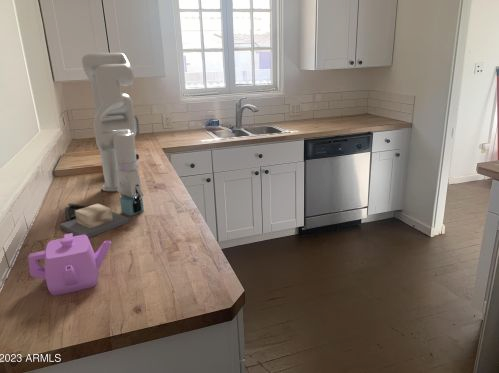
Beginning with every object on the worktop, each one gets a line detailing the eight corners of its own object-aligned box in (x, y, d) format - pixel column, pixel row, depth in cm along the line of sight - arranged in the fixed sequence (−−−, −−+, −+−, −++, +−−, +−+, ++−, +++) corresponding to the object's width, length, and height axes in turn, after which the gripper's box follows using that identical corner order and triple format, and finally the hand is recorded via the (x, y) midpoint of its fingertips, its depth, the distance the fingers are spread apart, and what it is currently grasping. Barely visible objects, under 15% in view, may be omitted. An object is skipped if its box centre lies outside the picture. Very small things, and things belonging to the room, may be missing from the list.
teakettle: (73, 260, 119) (65, 222, 115) (119, 269, 113) (113, 230, 109) (24, 291, 104) (14, 249, 100) (75, 303, 98) (66, 259, 94)
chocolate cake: (91, 211, 158) (64, 196, 151) (100, 209, 154) (73, 194, 146) (80, 232, 154) (52, 218, 147) (89, 232, 149) (61, 217, 142)
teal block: (134, 207, 159) (133, 193, 157) (143, 210, 155) (142, 196, 153) (121, 212, 155) (119, 197, 153) (130, 215, 151) (128, 201, 149)
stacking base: (105, 212, 155) (103, 198, 153) (129, 222, 145) (127, 207, 143) (60, 227, 142) (57, 212, 140) (83, 239, 132) (80, 223, 130)
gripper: (105, 164, 151) (112, 208, 157) (131, 171, 141) (137, 218, 147) (122, 160, 157) (128, 202, 163) (148, 167, 146) (154, 211, 152)
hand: (132, 209), depth 155 cm, fingers closed on teal block, 6 cm apart
